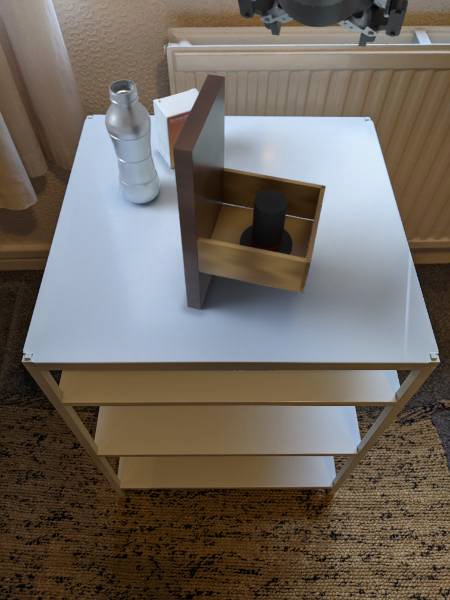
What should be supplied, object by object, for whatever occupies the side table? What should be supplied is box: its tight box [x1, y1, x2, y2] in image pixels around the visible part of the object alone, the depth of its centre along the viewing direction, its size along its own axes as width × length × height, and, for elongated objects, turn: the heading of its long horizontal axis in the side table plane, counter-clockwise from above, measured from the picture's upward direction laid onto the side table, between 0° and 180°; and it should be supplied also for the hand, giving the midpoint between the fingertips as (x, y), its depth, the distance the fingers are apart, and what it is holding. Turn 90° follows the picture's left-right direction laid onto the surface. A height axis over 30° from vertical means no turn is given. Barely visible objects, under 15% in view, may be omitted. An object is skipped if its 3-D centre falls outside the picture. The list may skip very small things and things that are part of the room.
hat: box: [240, 190, 293, 255], centre depth 64 cm, size 7×7×8 cm
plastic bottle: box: [104, 78, 161, 204], centre depth 77 cm, size 6×7×20 cm
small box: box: [152, 87, 200, 169], centre depth 87 cm, size 8×6×10 cm
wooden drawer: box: [173, 73, 327, 310], centre depth 63 cm, size 16×13×28 cm
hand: (320, 30), depth 49 cm, fingers open, 8 cm apart
